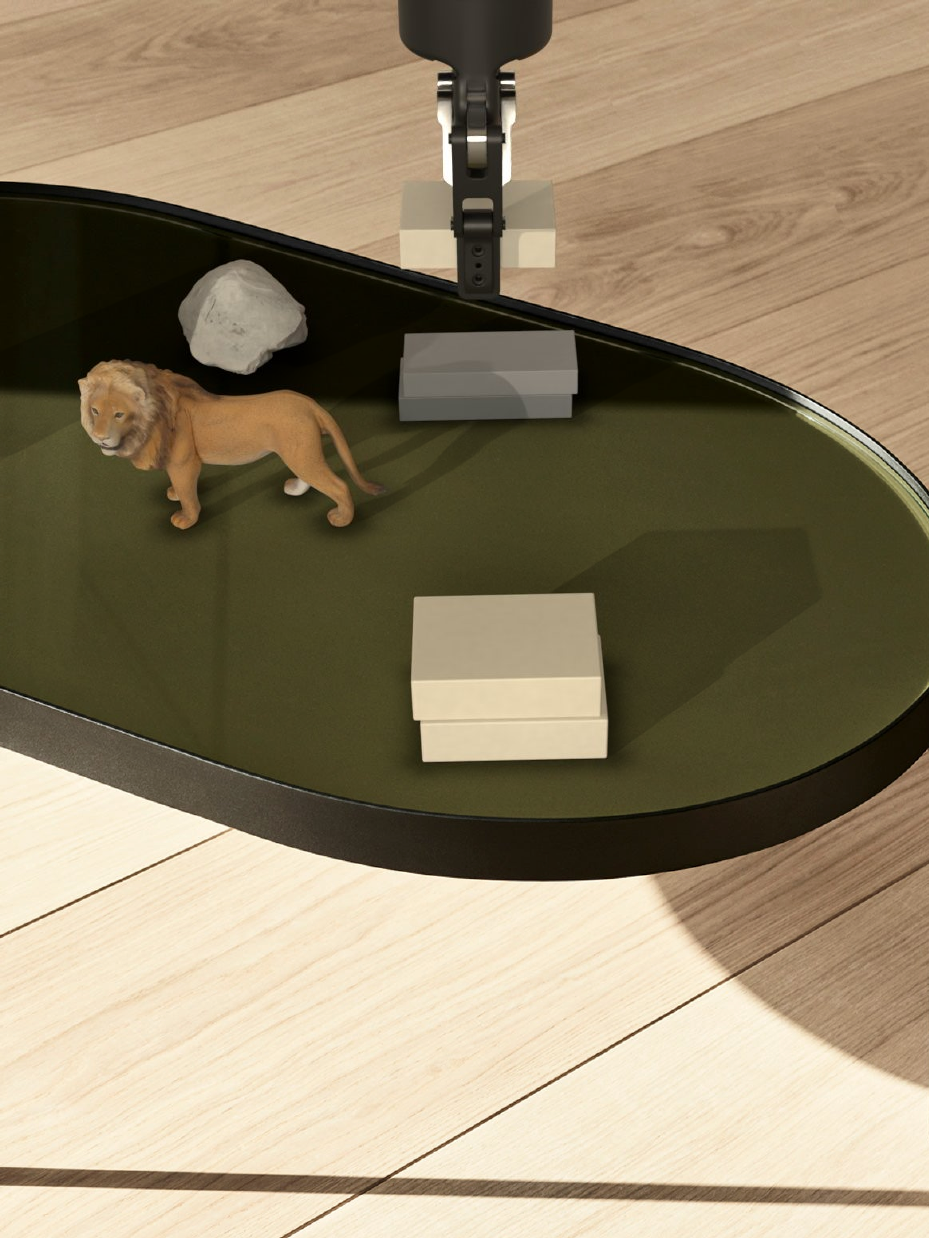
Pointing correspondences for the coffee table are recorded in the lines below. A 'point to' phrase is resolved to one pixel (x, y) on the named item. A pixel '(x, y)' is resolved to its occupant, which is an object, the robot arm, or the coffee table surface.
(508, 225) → the cream flat block
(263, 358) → the grey stone
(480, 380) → the grey block
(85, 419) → the lion figurine
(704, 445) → the coffee table surface
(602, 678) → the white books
